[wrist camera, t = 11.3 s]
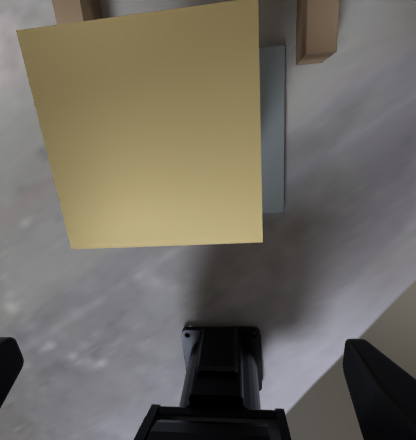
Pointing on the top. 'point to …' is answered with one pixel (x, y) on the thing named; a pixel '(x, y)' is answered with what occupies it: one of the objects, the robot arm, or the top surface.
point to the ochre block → (153, 124)
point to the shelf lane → (305, 32)
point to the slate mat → (272, 127)
